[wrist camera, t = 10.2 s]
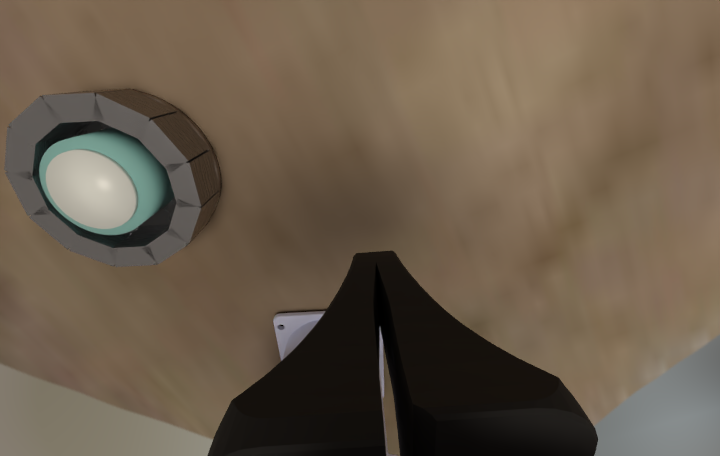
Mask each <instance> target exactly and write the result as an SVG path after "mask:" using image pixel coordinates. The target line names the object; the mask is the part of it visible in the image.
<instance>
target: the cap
mask: <svg viewBox="0 0 720 456" xmlns="http://www.w3.org/2000/svg"><path fill="white" fill-rule="evenodd" d="M39 175H40V181H41V185H42V188H43V190H44V192H45V194H46V196H47V198H48V199H49V201H50V202H51V204H52V205H53V206H54V207H55V208H56V210H57V211H58V212H59V213H60V214H62V215H63V216H64V217H65V218H66V219H68V220H69V221H70V222H72V223H74V224H75V225H77V226H79V227H81V228H83V229H85V230H88V231H90V232H94V233H98V234H103V235H119V234H124V233H127V232H130V231H132V230H134V229H135V228H137V227H138V226H139V225H141V224H142V223H143V222H145V221H146V220H147V219H149V218H150V217H151V216H153V215H154V214H155V213H157V212H158V211H159V210H160V209H162V208H163V207H164V206H166V205H167V204H168V203H169V202H170V201H171V200H172V199H173V198H174V192H173V189H172V186H171V183H170V179H169V176H168V173H167V170H166V168H165V167H164V166H163V165H162V164H161V163H160V162H159V161H158V160H157V159H156V158H155V156H154V155H153V154H152V153H151V152H150V151H149V150H148V149H147V148H146V147H145V146H144V145H143V144H142V142H141V141H140V140H139V139H138V138H135V137H133V136H131V135H129V134H126V133H124V132H122V131H120V130H117V129H115V128H113V127H112V128H107V129H104V130H100V131H96V132H92V133H88V134H84V135H80V136H76V137H72V138H68V139H65V140H62V141H59V142H57V143H55V144H53V145H52V146H51V147H49V148H48V150H47V151H46V152H45V153H44V155H43V157H42V159H41V162H40V168H39Z"/></svg>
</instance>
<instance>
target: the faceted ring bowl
mask: <svg viewBox="0 0 720 456" xmlns="http://www.w3.org/2000/svg"><path fill="white" fill-rule="evenodd" d="M112 127H113V128H115V129H117V130H120V131H122V132H124V133H126V134H129V135H131V136H133V137H135V138H138V139H139V140H140V141H141V142H142V144H143V145H144V146H145V147H146V148H147V149H148V150H149V151H150V152H151V153H152V154H153V155H154V156H155V158H156V159H157V160H158V161H159V162H160V163H161V164H162V165H163V166H164V167H165V168H166V170H167V173H168V176H169V179H170V183H171V186H172V189H173V192H174V198H173V199H172V200H171V201H170V202H169V203H168V204H167V205H166V206H164V207H163V208H162V209H160V210H159V211H158V212H157V213H155V214H154V215H153V216H151V217H150V218H149V219H147V220H146V221H145V222H143V223H142V224H141V225H139V226H138V227H137V228H135V229H134V230H132V231H130V232H127V233H124V234H119V235H103V234H98V233H94V232H90V231H88V230H85V229H83V228H81V227H79V226H77V225H75V224H74V223H72V222H70V221H69V220H68V219H66V218H65V217H64V216H63V215H62V214H60V213H59V212H58V211H57V210H56V208H55V207H54V206H53V205H52V204H51V202H50V201H49V199H48V198H47V196H46V194H45V192H44V190H43V188H42V185H41V181H40V175H39V168H40V162H41V159H42V157H43V155H44V153H45V152H46V151H47V150H48V148H49V147H51V146H52V145H53V144H55V143H57V142H59V141H62V140H65V139H68V138H72V137H76V136H80V135H84V134H88V133H92V132H96V131H100V130H104V129H107V128H112ZM4 170H5V171H8V172H5V173H6V175H7V177H8V179H9V181H10V183H11V185H12V187H13V189H14V191H15V193H16V194H17V196H18V198H19V200H20V202H21V204H22V206H23V208H24V210H25V212H26V214H27V215H31V216H30V217H29V218H30V219H32V220H33V221H34V222H35V223H36V224H38V225H39V226H40V227H41V228H42V229H44V230H45V231H46V232H47V233H48V234H50V235H51V236H52V237H53V238H54V239H56V240H57V241H58V242H59V243H60V244H62V245H63V246H64V247H65V248H66V249H69V248H70V251H72V252H75V253H77V254H80V255H83V256H86V257H89V258H91V259H94V260H97V261H100V262H102V263H105V264H108V265H111V266H116V267H123V266H142V265H157V264H160V263H161V262H163V261H164V260H166V259H167V258H169V257H170V256H172V255H173V254H175V253H176V252H178V251H179V250H181V249H182V248H184V247H185V246H187V245H188V244H189V243H190V242H191V241H192V240H193V239H194V238H195V237H196V235H197V234H198V233H199V232H200V231H201V230H202V229H203V228H204V227H205V226H206V224H207V223H208V222H209V220H210V217H211V215H212V213H213V212H214V210H215V208H216V206H217V204H218V201H219V197H220V191H221V174H220V168H219V164H218V161H217V158H216V155H215V153H214V151H213V148H212V147H211V145H210V143H209V141H208V140H207V138H206V137H205V135H204V134H203V133H202V131H201V130H200V129H199V128H198V126H197V125H196V124H195V123H194V122H193V121H192V120H191V119H190V118H189V117H187V116H186V115H185V114H184V113H183V112H182V111H180V110H179V109H177V108H176V107H174V106H173V105H171V104H170V103H168V102H166V101H164V100H162V99H160V98H158V97H155V96H153V95H150V94H147V93H143V92H140V91H136V90H134V89H132V90H131V89H114V90H99V91H83V92H72V93H61V94H50V95H42V96H40V97H38V98H37V99H36V100H35V101H34V102H33V103H32V104H31V105H30V106H29V107H28V108H26V109H25V110H24V111H23V112H22V113H21V114H20V115H19V116H18V117H17V118H15V119H14V120H13V121H12V122H11V123H10V124H9V127H7V140H6V155H5V169H4Z"/></svg>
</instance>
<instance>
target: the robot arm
mask: <svg viewBox="0 0 720 456" xmlns="http://www.w3.org/2000/svg"><path fill="white" fill-rule="evenodd" d="M273 323H274V328H275V333H276V338H277V343H278V348H279V352H280V357H281V362H280V363H279V364H278V365H277V366H276V367H274V368H273V369H272V370H271V371H270V372H269V373H268V374H266V375H265V376H264V377H263V378H261V379H260V380H259V381H257V382H256V383H255V384H253V385H252V386H251V387H249V388H248V389H247V390H245V391H244V392H243V393H242V394H240V395H239V396H237V397H236V398H235V399H233V400H232V401H231V403H230V405H229V407H228V409H227V411H226V413H225V415H224V417H223V419H222V421H221V423H220V426H219V428H218V430H217V432H216V434H215V437H214V439H213V442H212V445H211V448H210V450H209V453H208V456H397V455H394V454H388V447H387V437H386V427H385V416H384V406H383V397H384V362H383V344H384V349H385V354H386V359H387V364H388V369H389V374H390V379H391V383H392V389H393V395H394V402H395V411H396V420H397V429H398V439H399V448H400V456H594V454H595V451H596V446H597V442H598V437H597V434H596V430H595V428H594V426H593V425H592V423H591V421H590V420H589V418H588V417H587V415H586V414H585V412H584V411H583V409H582V408H581V406H580V405H579V403H578V402H577V401H576V399H575V398H574V397H573V395H572V394H571V393H570V392H569V390H568V389H567V388H566V387H565V386H564V384H563V383H562V381H561V380H560V379H559V378H558V377H556V376H554V375H552V374H550V373H548V372H546V371H544V370H541V369H539V368H537V367H535V366H533V365H531V364H529V363H527V362H525V361H523V360H521V359H519V358H517V357H515V356H513V355H511V354H509V353H508V352H506V351H504V350H502V349H501V348H499V347H497V346H495V345H494V344H492V343H490V342H489V341H487V340H485V339H484V338H482V337H481V336H479V335H478V334H476V333H475V332H473V331H472V330H470V329H469V328H467V327H466V326H464V325H463V324H462V323H460V322H459V321H458V320H456V319H455V318H454V317H453V316H452V315H450V314H449V313H448V312H447V311H446V310H444V309H443V308H442V307H441V306H440V305H439V304H438V303H437V302H436V301H435V300H434V299H433V298H432V297H431V296H430V295H429V294H428V293H427V292H426V291H425V290H424V289H423V288H422V287H421V286H420V285H419V284H418V283H417V281H416V280H415V279H414V278H413V277H412V276H411V274H410V273H409V272H408V271H407V269H406V268H405V267H404V265H403V264H402V263H401V261H400V260H399V258H398V257H397V255H396V253H395V252H393V251H382V252H368V253H356V254H355V255H354V256H353V261H352V264H351V266H350V269H349V271H348V273H347V276H346V278H345V280H344V282H343V284H342V285H341V287H340V289H339V291H338V293H337V294H336V296H335V298H334V299H333V301H332V302H331V304H330V306H329V307H328V309H327V310H326V311H316V312H297V313H279V314H276V315H275V317H274V319H273ZM280 324H281V325H284V326H280Z"/></svg>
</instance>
